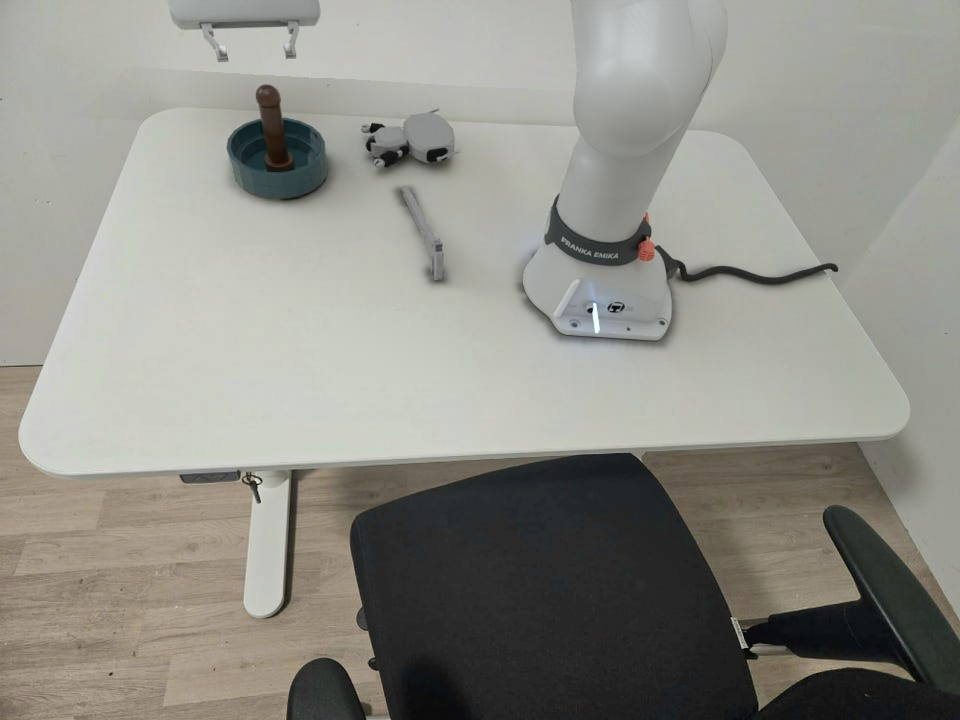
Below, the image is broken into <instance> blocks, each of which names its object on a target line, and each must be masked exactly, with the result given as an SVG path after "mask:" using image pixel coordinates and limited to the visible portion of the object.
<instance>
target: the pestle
mask: <svg viewBox="0 0 960 720" xmlns="http://www.w3.org/2000/svg"><path fill="white" fill-rule="evenodd" d="M254 96H255V101H256V104H257V105H258V110H259V114H260V119H261V121H262V126H263V132H264V137H265V142H266V147H267V153H266V154H265V156H264V162H265V167H266V171H267V172H286V171H292V170H295V165H294V158H293V155H292V154H291V153H290V152H288V150H287V143H286V137H285V131H284V124H283V118H284V117H283V112H282V111H283V110H282V106H281V102H282V96H281V93H280V92H279V89H278V88H277V87H275V86H274V85H272V84H268V83H265V84H261V85H260V86H258V88H256V90H255V95H254Z"/></svg>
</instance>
